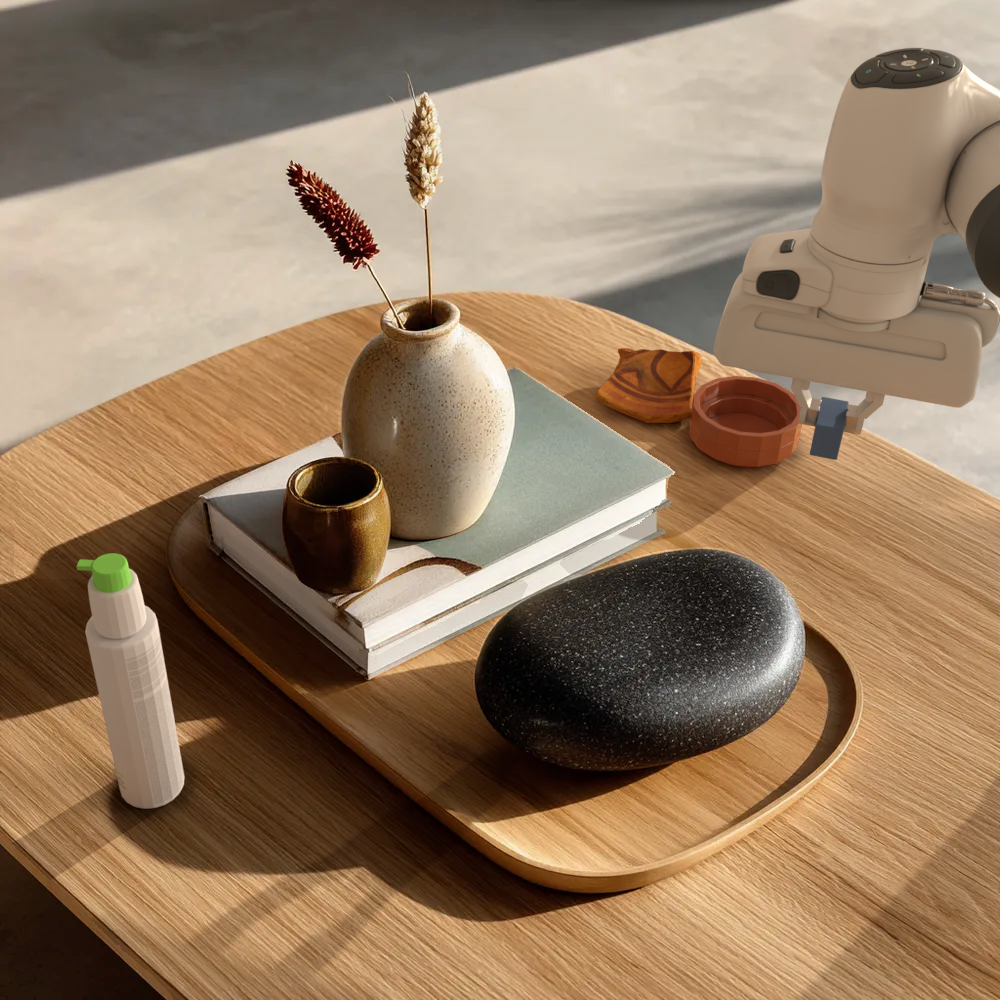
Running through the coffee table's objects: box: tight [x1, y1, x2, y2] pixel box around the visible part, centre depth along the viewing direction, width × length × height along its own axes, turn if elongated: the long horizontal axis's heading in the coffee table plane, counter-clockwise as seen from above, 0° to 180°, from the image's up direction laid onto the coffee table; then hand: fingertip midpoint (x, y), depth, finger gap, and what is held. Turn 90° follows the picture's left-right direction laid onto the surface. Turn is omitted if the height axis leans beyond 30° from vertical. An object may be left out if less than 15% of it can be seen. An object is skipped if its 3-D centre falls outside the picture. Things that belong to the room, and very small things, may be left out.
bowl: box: [688, 375, 803, 468], centre depth 126 cm, size 10×10×4 cm
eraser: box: [809, 396, 850, 461], centre depth 108 cm, size 4×2×3 cm, turn 163°
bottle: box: [76, 552, 185, 810], centre depth 86 cm, size 4×4×20 cm
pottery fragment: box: [593, 347, 703, 424], centre depth 132 cm, size 10×5×10 cm
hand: (829, 425), depth 108 cm, fingers closed on eraser, 2 cm apart
